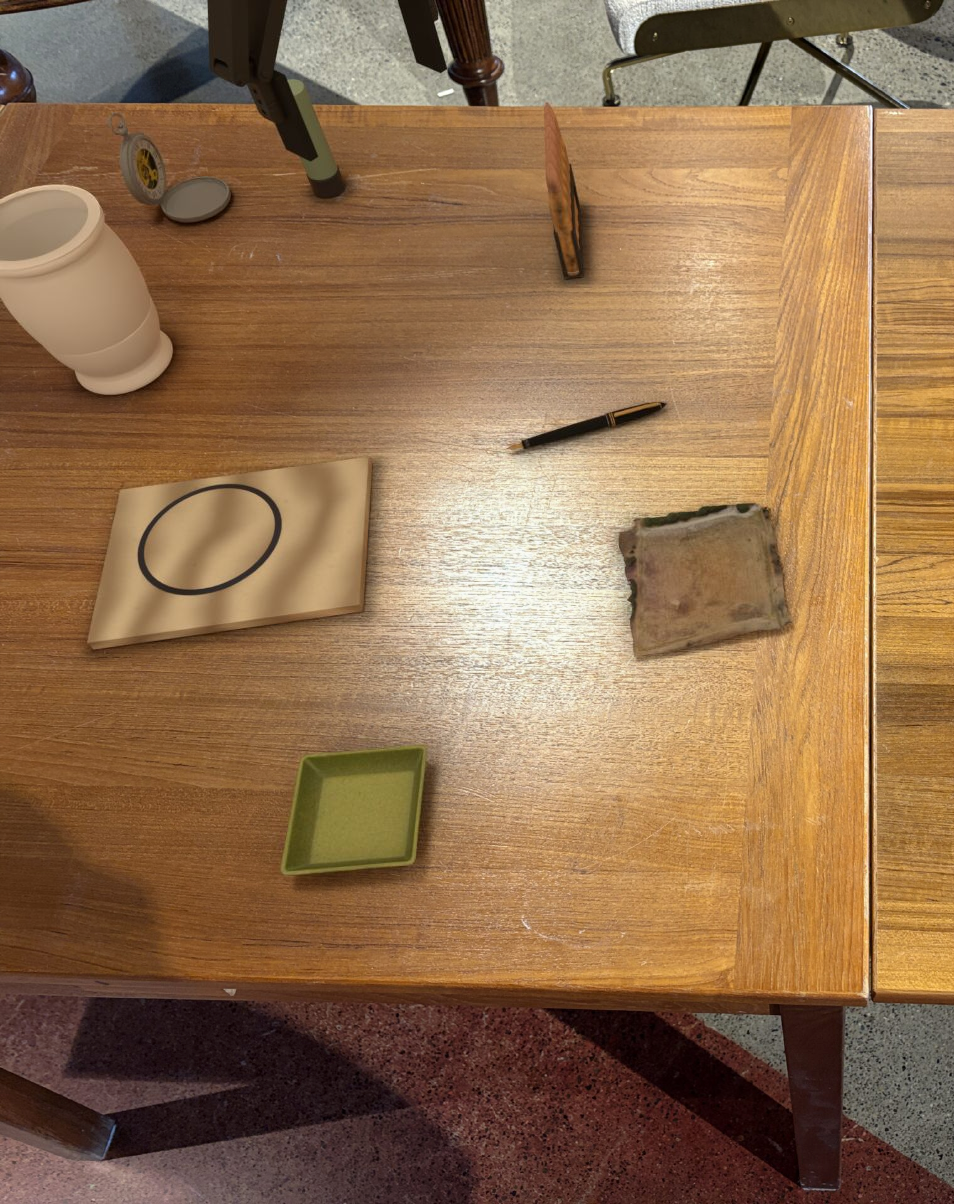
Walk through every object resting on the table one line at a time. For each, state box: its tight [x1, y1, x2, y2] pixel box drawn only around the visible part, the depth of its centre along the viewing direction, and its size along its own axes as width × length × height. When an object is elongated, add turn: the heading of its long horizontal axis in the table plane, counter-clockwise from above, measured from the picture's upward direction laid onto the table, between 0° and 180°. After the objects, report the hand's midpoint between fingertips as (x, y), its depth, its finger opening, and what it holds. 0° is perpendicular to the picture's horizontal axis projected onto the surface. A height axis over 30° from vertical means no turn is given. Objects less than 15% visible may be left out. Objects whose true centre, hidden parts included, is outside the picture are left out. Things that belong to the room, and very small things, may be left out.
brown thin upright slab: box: [543, 101, 585, 280], centre depth 107 cm, size 11×2×12 cm, turn 8°
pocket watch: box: [108, 112, 232, 223], centre depth 113 cm, size 8×8×10 cm
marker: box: [287, 78, 346, 199], centre depth 113 cm, size 3×3×11 cm
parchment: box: [618, 502, 793, 657], centre depth 89 cm, size 12×13×1 cm
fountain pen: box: [503, 401, 668, 451], centre depth 98 cm, size 14×1×2 cm, turn 111°
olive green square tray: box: [279, 744, 428, 876], centre depth 78 cm, size 9×9×2 cm
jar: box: [0, 184, 174, 396], centre depth 98 cm, size 11×10×15 cm
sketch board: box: [86, 456, 373, 650], centre depth 91 cm, size 20×15×1 cm
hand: (369, 108), depth 89 cm, fingers open, 13 cm apart
